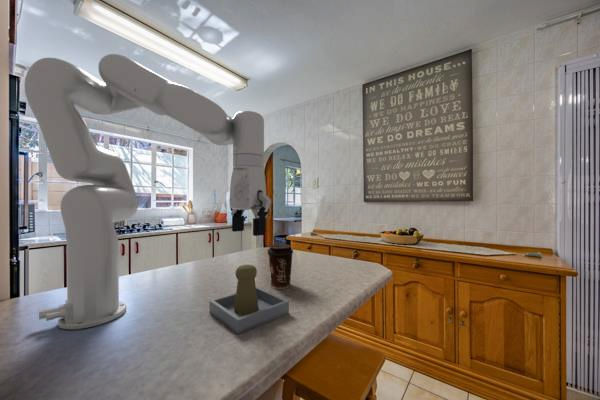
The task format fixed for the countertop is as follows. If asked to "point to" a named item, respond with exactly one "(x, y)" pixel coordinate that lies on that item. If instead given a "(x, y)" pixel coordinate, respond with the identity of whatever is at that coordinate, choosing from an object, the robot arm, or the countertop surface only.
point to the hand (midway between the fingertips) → (248, 233)
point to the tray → (267, 311)
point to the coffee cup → (280, 265)
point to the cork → (246, 290)
